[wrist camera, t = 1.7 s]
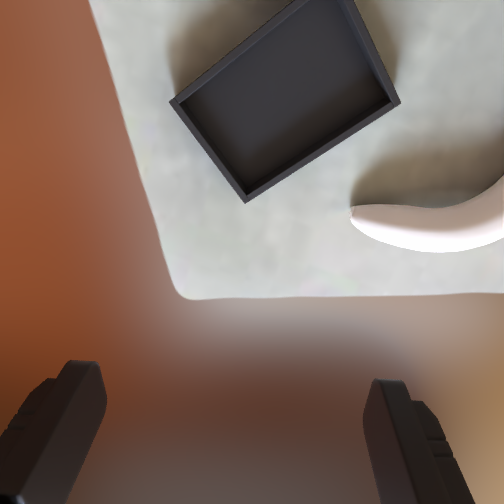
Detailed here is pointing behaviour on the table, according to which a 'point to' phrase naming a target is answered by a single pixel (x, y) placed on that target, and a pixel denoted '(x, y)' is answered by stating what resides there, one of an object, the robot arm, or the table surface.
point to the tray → (287, 94)
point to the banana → (436, 223)
